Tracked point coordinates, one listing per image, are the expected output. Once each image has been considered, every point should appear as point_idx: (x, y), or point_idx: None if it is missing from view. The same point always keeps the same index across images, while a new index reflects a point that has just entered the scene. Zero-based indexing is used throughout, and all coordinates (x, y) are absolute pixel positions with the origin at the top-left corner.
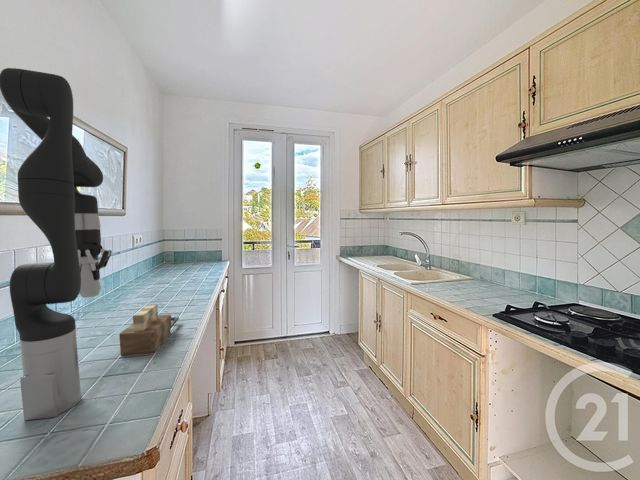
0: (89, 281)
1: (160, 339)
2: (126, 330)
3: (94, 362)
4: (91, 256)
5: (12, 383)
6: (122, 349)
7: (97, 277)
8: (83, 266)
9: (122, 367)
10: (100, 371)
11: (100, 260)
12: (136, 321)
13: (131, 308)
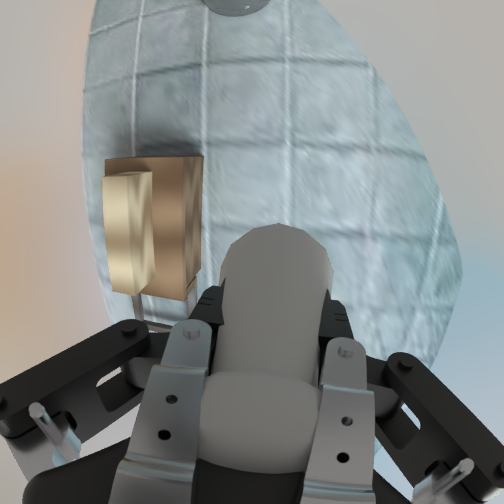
0: (247, 260)
1: None
2: (174, 182)
3: (250, 131)
4: (136, 432)
5: (376, 84)
6: (194, 156)
7: (202, 297)
8: (287, 360)
9: (177, 95)
10: (216, 84)
11: (86, 367)
12: (129, 174)
13: None
